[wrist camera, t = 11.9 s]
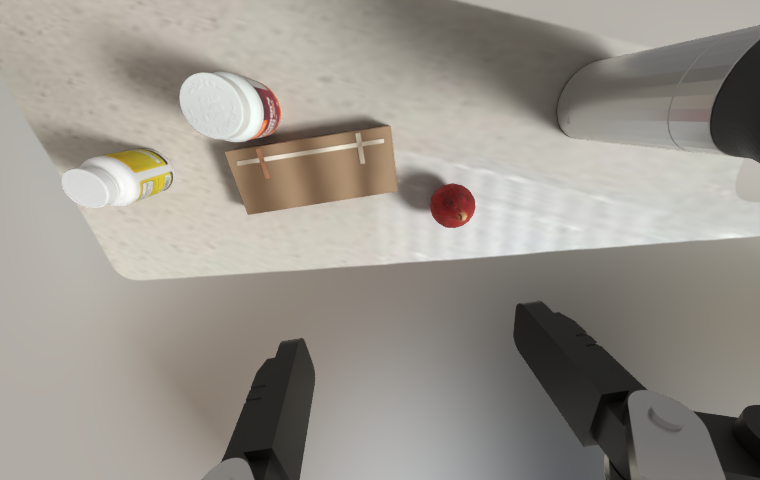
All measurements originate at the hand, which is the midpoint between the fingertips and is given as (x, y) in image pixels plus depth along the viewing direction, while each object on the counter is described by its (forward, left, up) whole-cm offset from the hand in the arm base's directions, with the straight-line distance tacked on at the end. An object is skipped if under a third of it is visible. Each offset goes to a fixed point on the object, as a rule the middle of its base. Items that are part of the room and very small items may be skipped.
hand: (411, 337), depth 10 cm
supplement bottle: (+28, -5, -30) cm, 42 cm away
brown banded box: (+7, -2, -30) cm, 31 cm away
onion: (-10, +5, -30) cm, 32 cm away
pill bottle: (+13, -10, -30) cm, 34 cm away
